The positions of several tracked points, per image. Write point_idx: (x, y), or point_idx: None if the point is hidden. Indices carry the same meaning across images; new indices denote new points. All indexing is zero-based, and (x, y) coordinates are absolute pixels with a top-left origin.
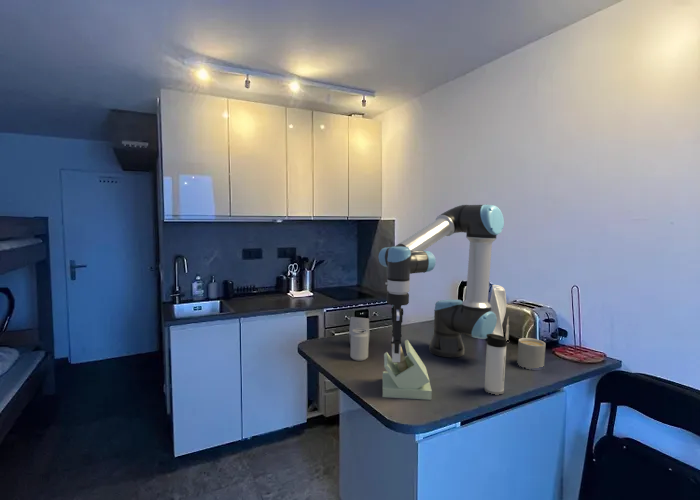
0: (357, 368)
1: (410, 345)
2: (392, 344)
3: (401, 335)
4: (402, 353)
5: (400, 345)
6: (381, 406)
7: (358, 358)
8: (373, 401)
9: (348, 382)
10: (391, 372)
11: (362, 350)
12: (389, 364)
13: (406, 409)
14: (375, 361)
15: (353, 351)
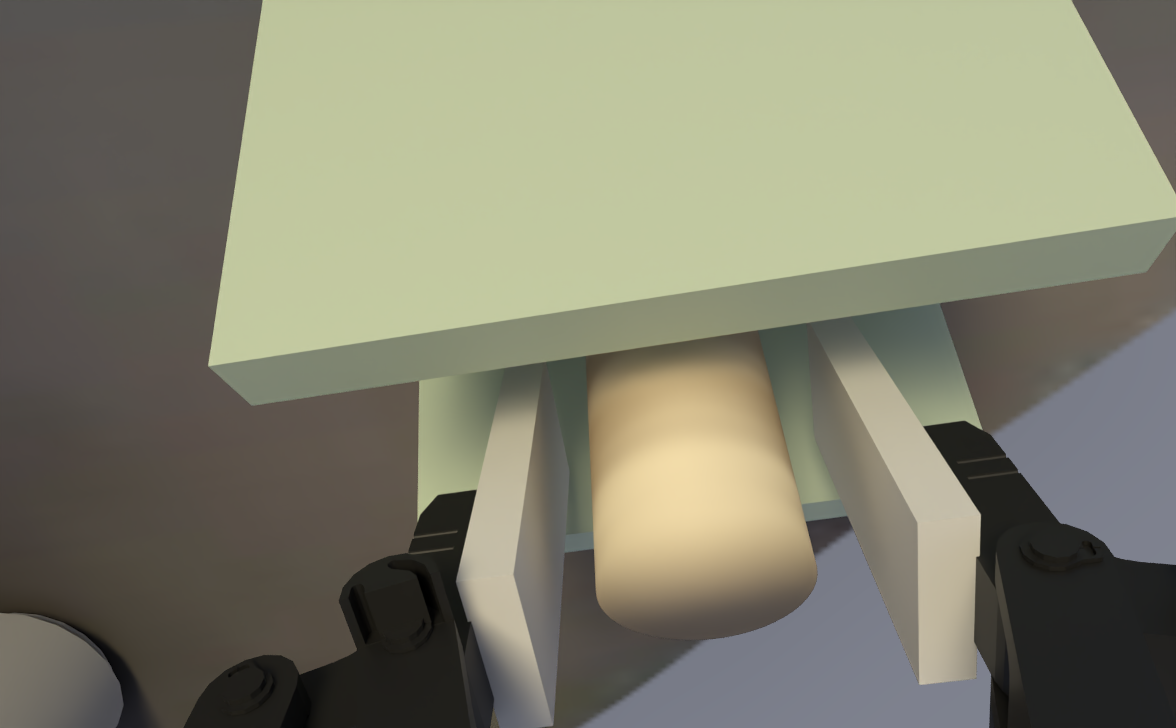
0: (300, 636)
1: (362, 233)
2: (715, 621)
3: (406, 583)
4: (728, 337)
5: (962, 488)
6: (1091, 303)
7: (110, 684)
8: (992, 388)
9: (639, 643)
10: (958, 365)
11: (36, 726)
12: (815, 441)
13: (1149, 42)
14: (28, 522)
15: None
